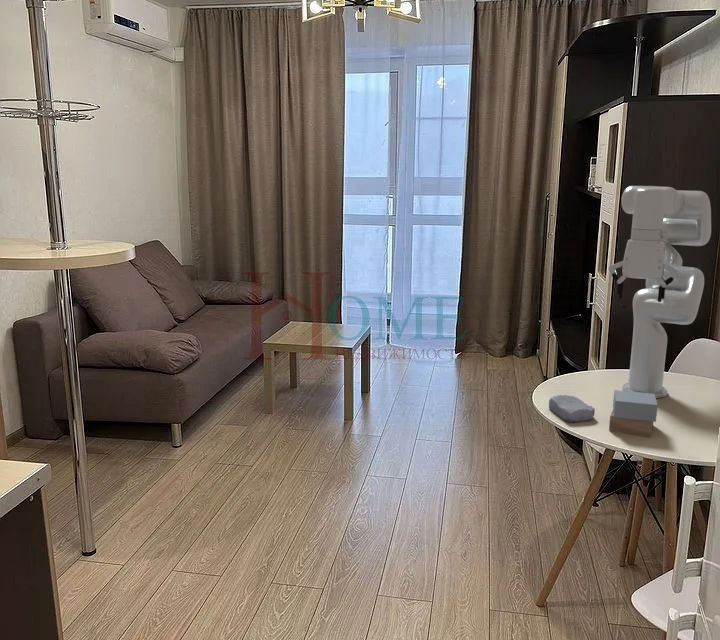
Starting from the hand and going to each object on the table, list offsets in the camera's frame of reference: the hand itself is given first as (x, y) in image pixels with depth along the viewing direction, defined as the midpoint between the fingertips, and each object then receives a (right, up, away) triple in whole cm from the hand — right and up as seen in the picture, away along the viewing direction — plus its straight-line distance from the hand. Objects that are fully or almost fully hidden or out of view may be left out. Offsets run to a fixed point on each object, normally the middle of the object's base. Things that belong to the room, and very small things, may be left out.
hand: (640, 299), depth 188 cm
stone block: (-12, -31, +7) cm, 34 cm away
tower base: (-4, -34, -4) cm, 35 cm away
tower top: (-4, -30, -5) cm, 31 cm away
